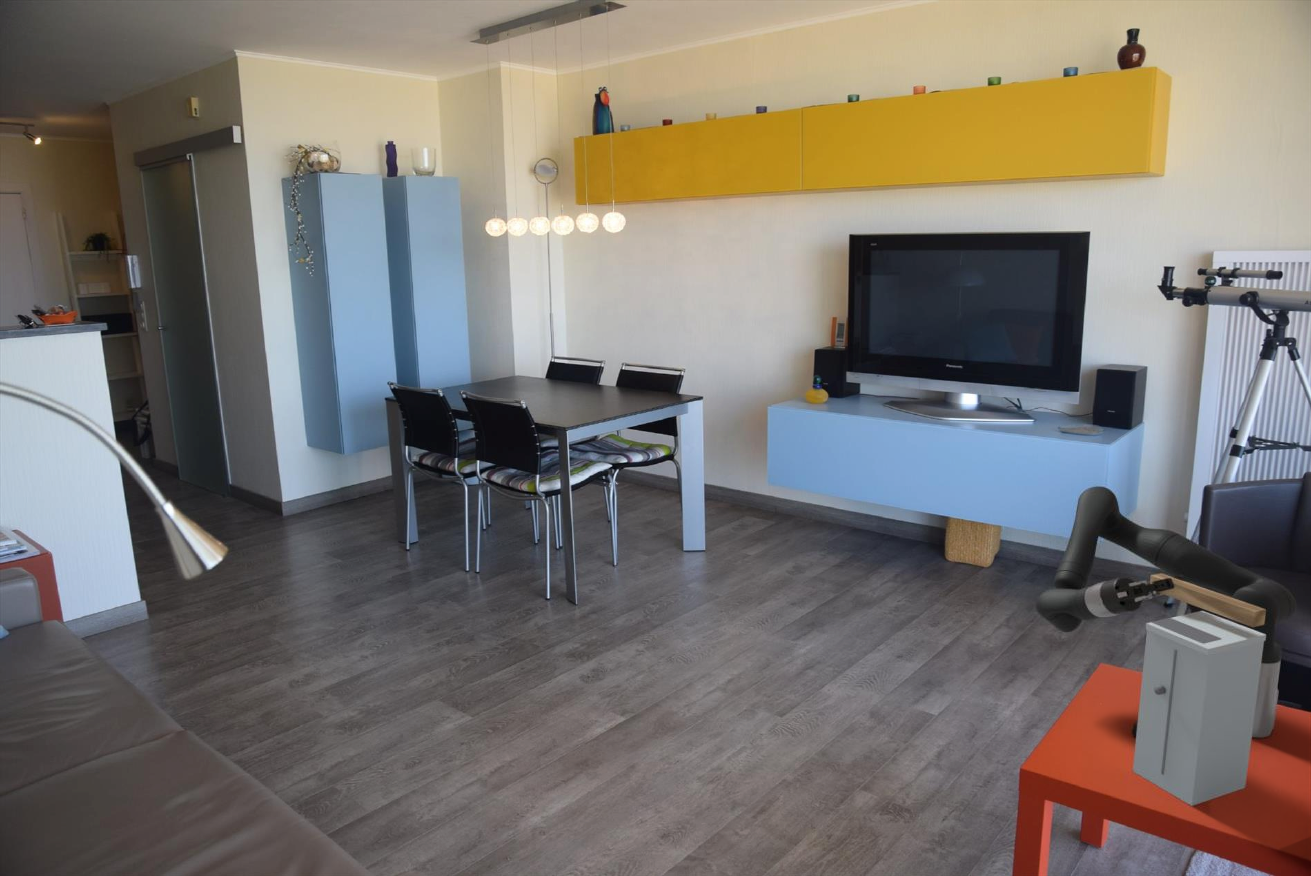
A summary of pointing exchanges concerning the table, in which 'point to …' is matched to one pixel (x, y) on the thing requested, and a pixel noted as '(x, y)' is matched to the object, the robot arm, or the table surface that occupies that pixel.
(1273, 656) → the robot arm
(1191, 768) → the light grey cabinet
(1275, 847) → the table surface
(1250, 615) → the oak batten
